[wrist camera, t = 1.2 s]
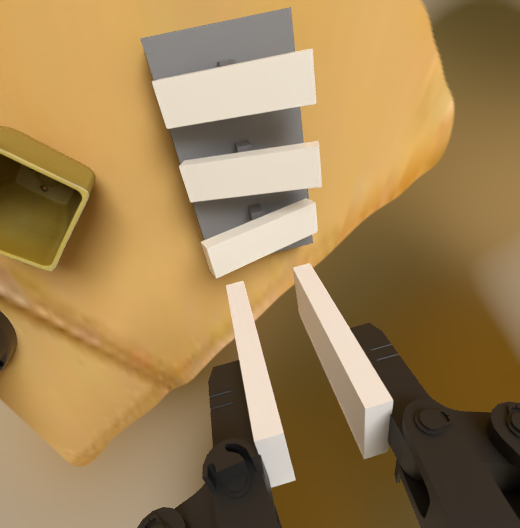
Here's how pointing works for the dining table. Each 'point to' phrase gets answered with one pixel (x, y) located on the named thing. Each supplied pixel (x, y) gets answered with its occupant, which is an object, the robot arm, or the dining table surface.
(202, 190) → the bar
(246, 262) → the bar
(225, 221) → the switch panel
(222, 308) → the dining table surface
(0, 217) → the flower pot
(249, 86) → the bar
